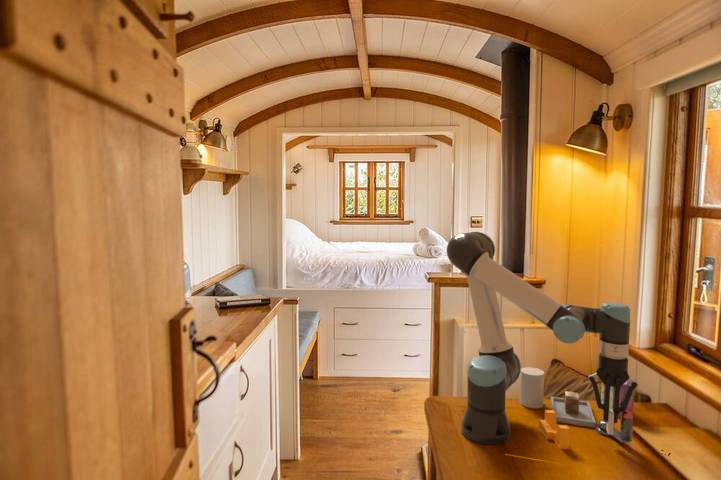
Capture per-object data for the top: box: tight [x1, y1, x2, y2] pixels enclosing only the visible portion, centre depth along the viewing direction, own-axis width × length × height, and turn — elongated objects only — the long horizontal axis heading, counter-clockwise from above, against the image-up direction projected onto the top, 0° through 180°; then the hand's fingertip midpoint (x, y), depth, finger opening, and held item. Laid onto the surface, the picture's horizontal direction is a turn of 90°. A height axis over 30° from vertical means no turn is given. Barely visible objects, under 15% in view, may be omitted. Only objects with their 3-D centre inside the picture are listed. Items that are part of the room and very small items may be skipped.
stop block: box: [564, 391, 580, 415], centre depth 151 cm, size 4×4×6 cm
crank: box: [597, 410, 634, 444], centre depth 134 cm, size 13×4×10 cm, turn 5°
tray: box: [550, 396, 597, 429], centre depth 151 cm, size 13×17×2 cm
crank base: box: [594, 424, 615, 438], centre depth 133 cm, size 20×6×1 cm, turn 36°
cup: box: [519, 366, 545, 409], centre depth 159 cm, size 8×8×12 cm
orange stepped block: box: [538, 409, 571, 450], centre depth 135 cm, size 12×4×6 cm, turn 178°
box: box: [600, 381, 636, 419], centre depth 153 cm, size 10×6×12 cm, turn 179°
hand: (609, 432), depth 131 cm, fingers closed
